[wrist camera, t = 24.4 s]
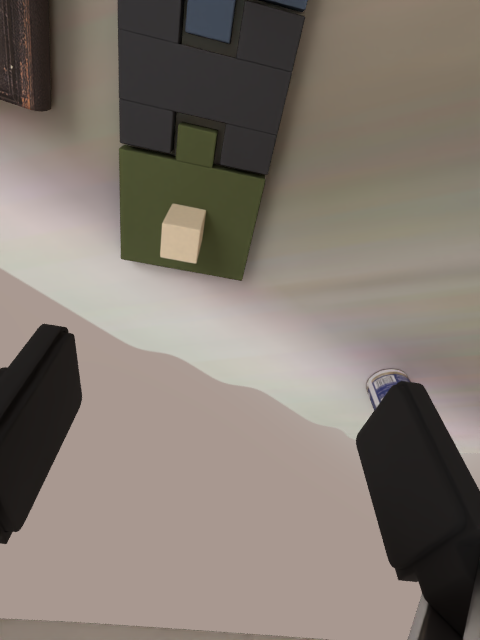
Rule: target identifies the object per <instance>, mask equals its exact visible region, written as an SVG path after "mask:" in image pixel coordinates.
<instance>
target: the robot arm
mask: <svg viewBox="0 0 480 640" xmlns="http://www.w3.org/2000/svg"><path fill="white" fill-rule="evenodd" d="M81 401H82V392H81V385H80V376H79V369H78V361H77V353H76V346H75V338H74V335H73V334H71V333H68V329H67V328H66V327H61V326H55V325H48V324H42V325H41V326H40V327H39V328H38V329H37V331H36V332H35V333H34V335H33V336H32V337H31V338H30V340H29V341H28V342H27V344H26V345H25V346H24V347H23V349H22V350H21V351H20V353H19V354H18V355H17V357H16V358H15V359H14V360H13V362H12V363H11V364H10V366H9V367H8V368H1V369H0V543H2V544H7V542H8V540H9V538H10V536H11V534H12V532H17V531H19V530H20V529H21V527H22V526H23V524H24V522H25V520H26V518H27V516H28V514H29V512H30V510H31V508H32V506H33V504H34V502H35V499H36V497H37V495H38V493H39V491H40V489H41V487H42V485H43V483H44V481H45V479H46V477H47V475H48V472H49V470H50V468H51V466H52V464H53V462H54V460H55V458H56V455H57V454H58V452H59V450H60V447H61V445H62V443H63V441H64V439H65V437H66V435H67V433H68V431H69V429H70V427H71V424H72V422H73V420H74V418H75V416H76V414H77V412H78V409H79V408H80V405H81ZM356 445H357V449H358V453H359V456H360V460H361V463H362V467H363V470H364V474H365V478H366V481H367V485H368V489H369V492H370V496H371V499H372V503H373V507H374V510H375V514H376V517H377V521H378V525H379V528H380V532H381V535H382V539H383V543H384V546H385V550H386V553H387V556H388V560H389V562H390V564H391V566H392V567H394V568H395V570H396V573H397V577H398V580H402V581H413V582H417V581H419V584H420V587H421V590H422V596H421V599H420V602H419V605H418V608H417V611H416V614H415V617H414V621H413V624H412V627H411V630H410V634H409V636H408V639H407V640H480V491H479V489H478V487H477V485H476V483H475V481H474V479H473V478H472V476H471V474H470V472H469V470H468V468H467V467H466V465H465V463H464V461H463V459H462V457H461V455H460V453H459V451H458V449H457V448H456V446H455V444H454V442H453V440H452V438H451V436H450V434H449V433H448V431H447V429H446V427H445V425H444V423H443V421H442V419H441V418H440V416H439V414H438V412H437V410H436V408H435V406H434V404H433V403H432V401H431V399H430V397H429V395H428V393H427V391H426V389H425V388H424V386H423V385H421V384H419V383H412V382H406V381H400V382H398V383H397V384H396V385H393V386H392V387H391V388H390V389H389V391H388V392H387V394H386V395H385V396H384V398H383V399H382V401H381V402H380V403H379V405H378V406H377V408H376V409H375V410H374V412H373V413H372V415H371V416H370V417H369V419H368V420H367V422H366V423H365V425H364V426H363V427H362V429H361V430H360V432H359V433H358V435H357V438H356ZM0 640H327V639H314V638H300V637H284V636H272V635H257V634H243V633H228V632H214V631H201V630H186V629H170V628H156V627H140V626H126V625H111V624H96V623H81V622H80V623H79V622H63V621H42V620H21V619H0Z"/></svg>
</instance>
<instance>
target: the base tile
mask: <svg viewBox="0 0 480 640" xmlns="http://www.w3.org/2000/svg"><path fill="white" fill-rule="evenodd" d="M184 3H185V0H118V28H119V29H118V51H119V98H120V100H119V110H120V142H121V143H124V144H128V145H133V146H138V147H142V148H147V149H151V150H156V151H160V152H165V153H171V152H172V151H173V149H174V136H175V123H176V112H180V113H184V114H188V115H193V116H197V117H201V118H205V119H210V120H214V121H218V122H223V123H226V128H225V134H224V140H223V147H222V153H221V160H220V165H224V166H229V167H233V168H238V169H243V170H247V171H252V172H256V173H261V174H265V175H267V174H268V171H269V167H270V162H271V158H272V154H273V150H274V146H275V141H276V137H277V133H278V129H279V125H280V121H281V116H282V112H283V108H284V104H285V100H286V95H287V91H288V87H289V83H290V79H291V75H292V73H291V72H292V70H293V66H294V62H295V58H296V53H297V49H298V45H299V41H300V37H301V32H302V28H303V24H304V20H305V17H304V16H301V15H297V14H294V13H290V12H286V11H283V10H279V9H275V8H272V7H268V6H264V5H261V4H257V3H253V2H250V1H245V4H244V11H243V17H242V24H241V30H240V37H239V43H238V50H237V56H236V58H234V57H230V56H226V55H222V54H218V53H214V52H210V51H206V50H202V49H198V48H194V47H190V46H186V45H182V44H181V43H182V30H183V16H184Z"/></svg>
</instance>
